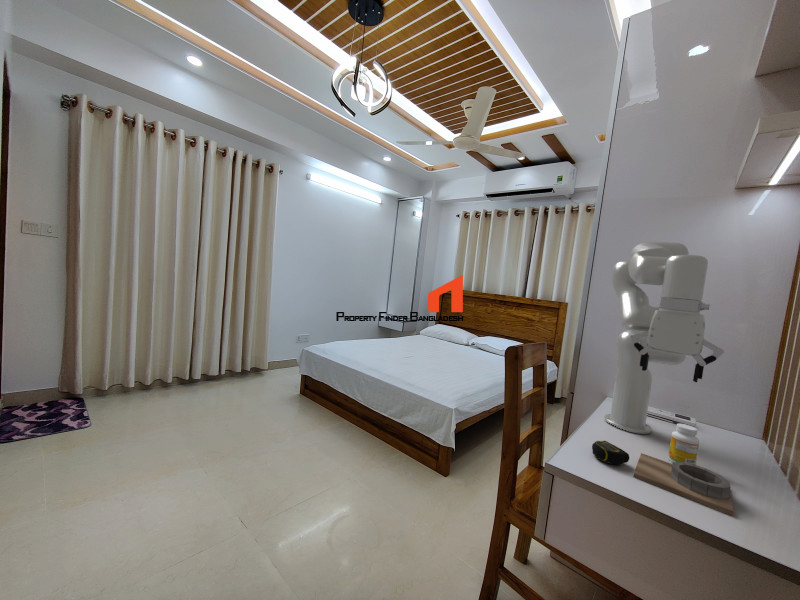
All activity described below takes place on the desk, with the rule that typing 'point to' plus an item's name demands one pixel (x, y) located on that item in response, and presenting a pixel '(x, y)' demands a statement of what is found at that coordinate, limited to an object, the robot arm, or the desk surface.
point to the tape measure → (609, 453)
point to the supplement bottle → (684, 444)
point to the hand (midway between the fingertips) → (668, 375)
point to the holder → (686, 482)
